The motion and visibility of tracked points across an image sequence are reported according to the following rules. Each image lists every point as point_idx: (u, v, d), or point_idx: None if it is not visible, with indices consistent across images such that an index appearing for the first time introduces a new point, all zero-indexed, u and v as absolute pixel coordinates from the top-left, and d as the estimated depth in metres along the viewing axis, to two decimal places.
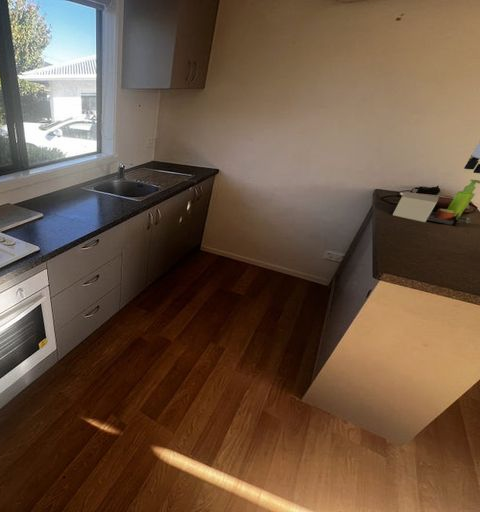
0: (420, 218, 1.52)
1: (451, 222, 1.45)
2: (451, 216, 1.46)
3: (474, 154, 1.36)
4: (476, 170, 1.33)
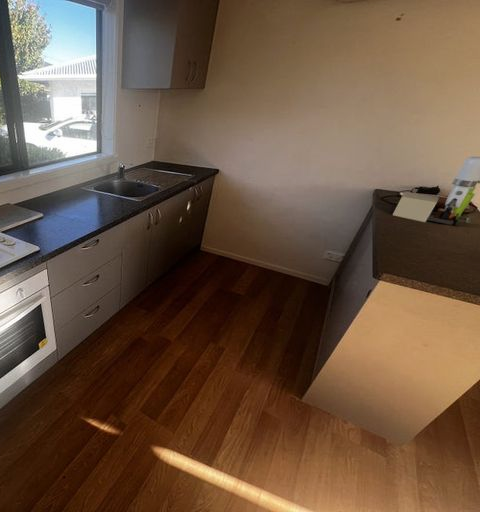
0: (420, 218, 1.52)
1: (451, 222, 1.45)
2: (451, 216, 1.46)
3: (446, 201, 1.49)
4: (440, 216, 1.48)
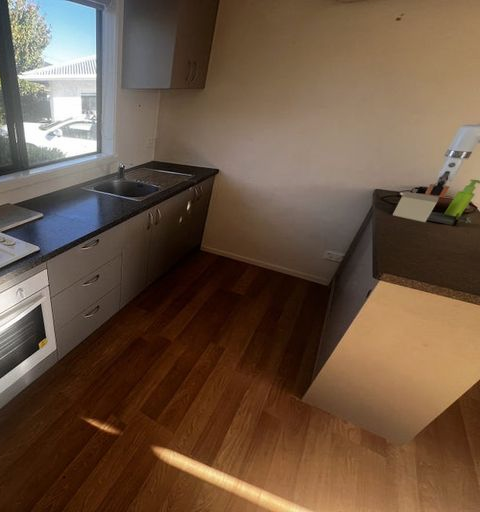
0: (420, 218, 1.52)
1: (451, 222, 1.45)
2: (443, 191, 1.36)
3: None
4: (432, 192, 1.37)
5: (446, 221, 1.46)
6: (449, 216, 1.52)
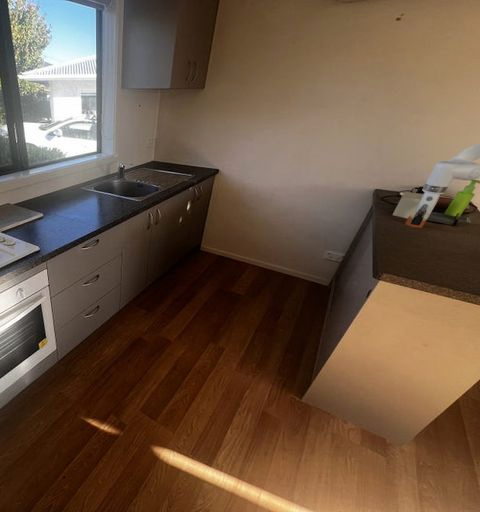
0: None
1: (451, 222, 1.45)
2: (421, 223, 1.43)
3: None
4: (413, 222, 1.43)
5: (446, 221, 1.46)
6: (449, 216, 1.52)
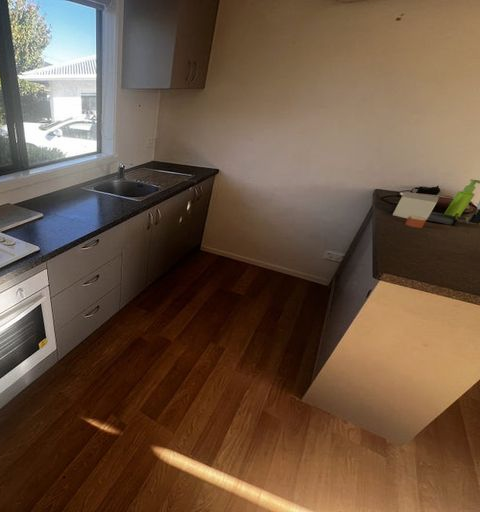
0: None
1: (450, 222, 1.45)
2: (421, 223, 1.43)
3: (478, 204, 1.41)
4: (472, 220, 1.43)
5: (445, 221, 1.46)
6: (448, 216, 1.52)
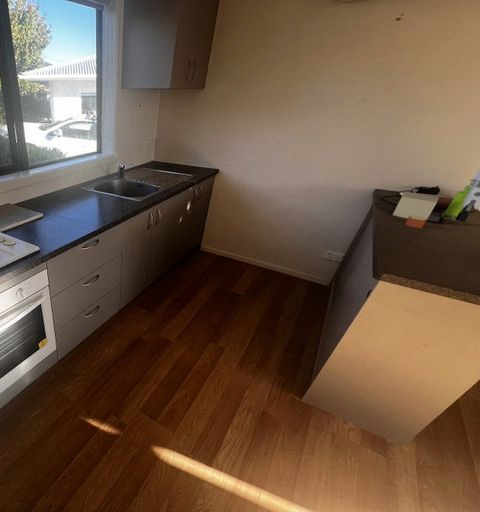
0: None
1: (437, 219, 1.48)
2: (421, 223, 1.43)
3: None
4: (457, 218, 1.46)
5: (432, 218, 1.49)
6: (436, 214, 1.55)
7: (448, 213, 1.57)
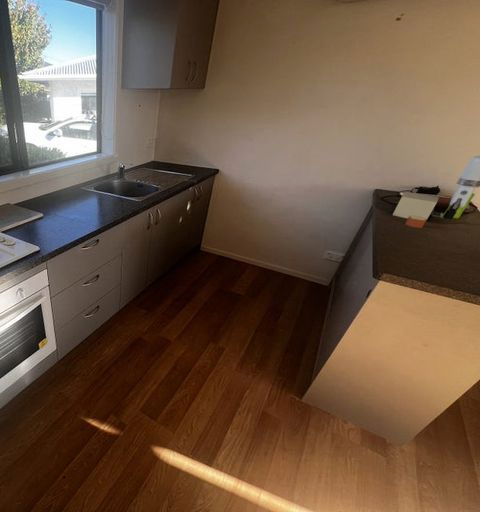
0: None
1: None
2: (421, 223, 1.43)
3: None
4: (445, 216, 1.49)
5: None
6: None
7: None
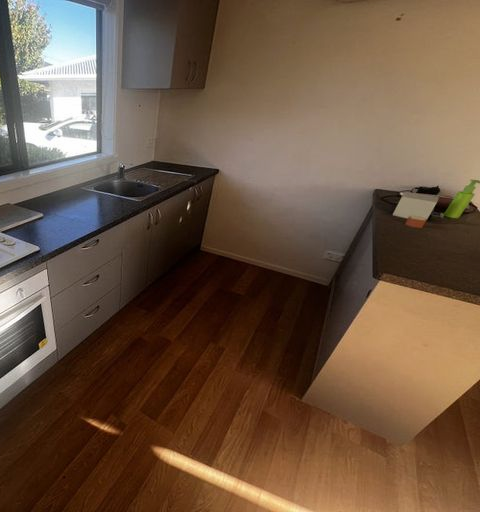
0: None
1: None
2: (421, 223, 1.43)
3: None
4: None
5: None
6: None
7: (448, 213, 1.57)
